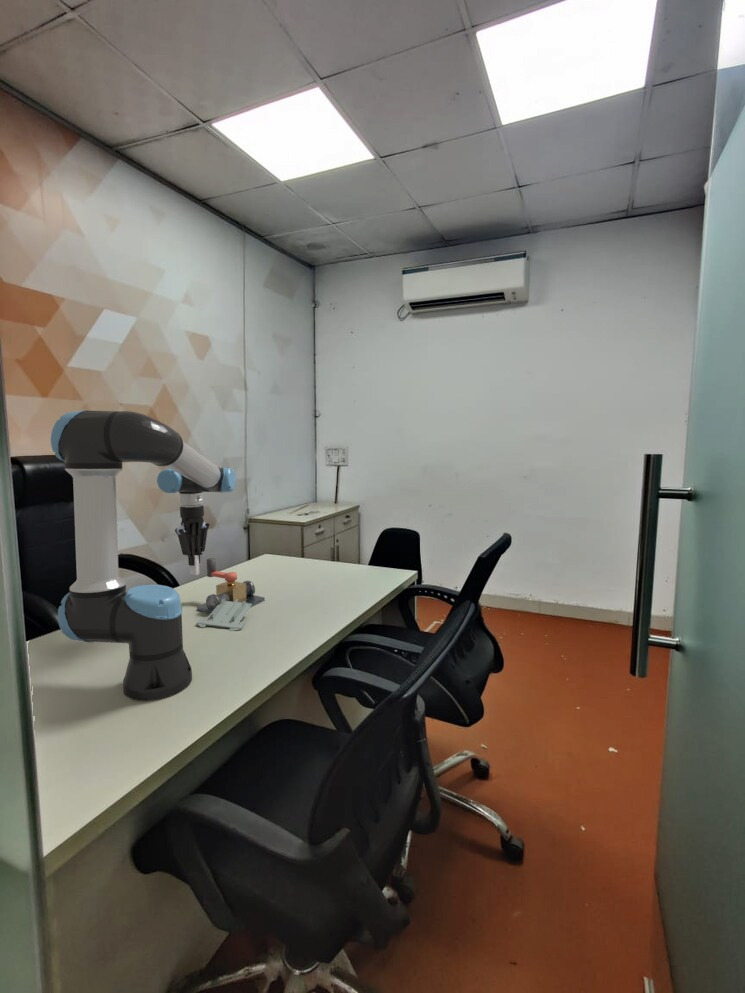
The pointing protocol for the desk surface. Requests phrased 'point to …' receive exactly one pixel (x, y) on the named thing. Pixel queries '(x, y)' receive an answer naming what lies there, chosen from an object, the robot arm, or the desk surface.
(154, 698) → the robot arm
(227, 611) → the metal bracket
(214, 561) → the lever
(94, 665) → the desk surface
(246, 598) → the valve
